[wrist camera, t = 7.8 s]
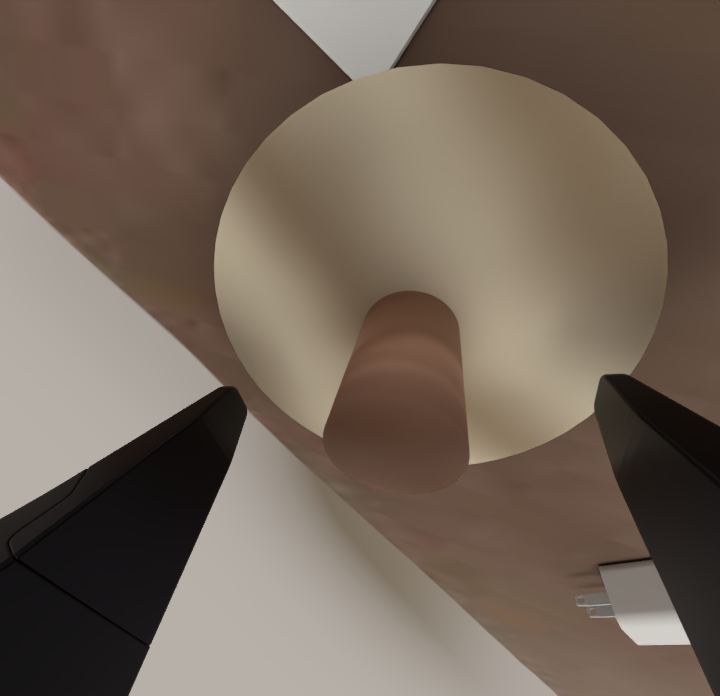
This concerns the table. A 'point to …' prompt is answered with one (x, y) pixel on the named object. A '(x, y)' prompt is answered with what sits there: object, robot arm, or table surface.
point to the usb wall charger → (637, 604)
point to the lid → (439, 269)
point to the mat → (359, 30)
